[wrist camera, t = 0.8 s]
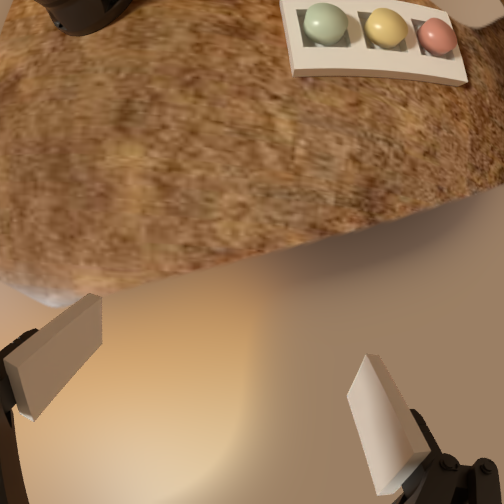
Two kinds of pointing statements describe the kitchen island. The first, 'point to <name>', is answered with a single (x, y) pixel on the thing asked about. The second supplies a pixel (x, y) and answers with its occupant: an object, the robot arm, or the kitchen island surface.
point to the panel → (369, 45)
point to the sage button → (325, 23)
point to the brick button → (437, 37)
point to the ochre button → (385, 28)
